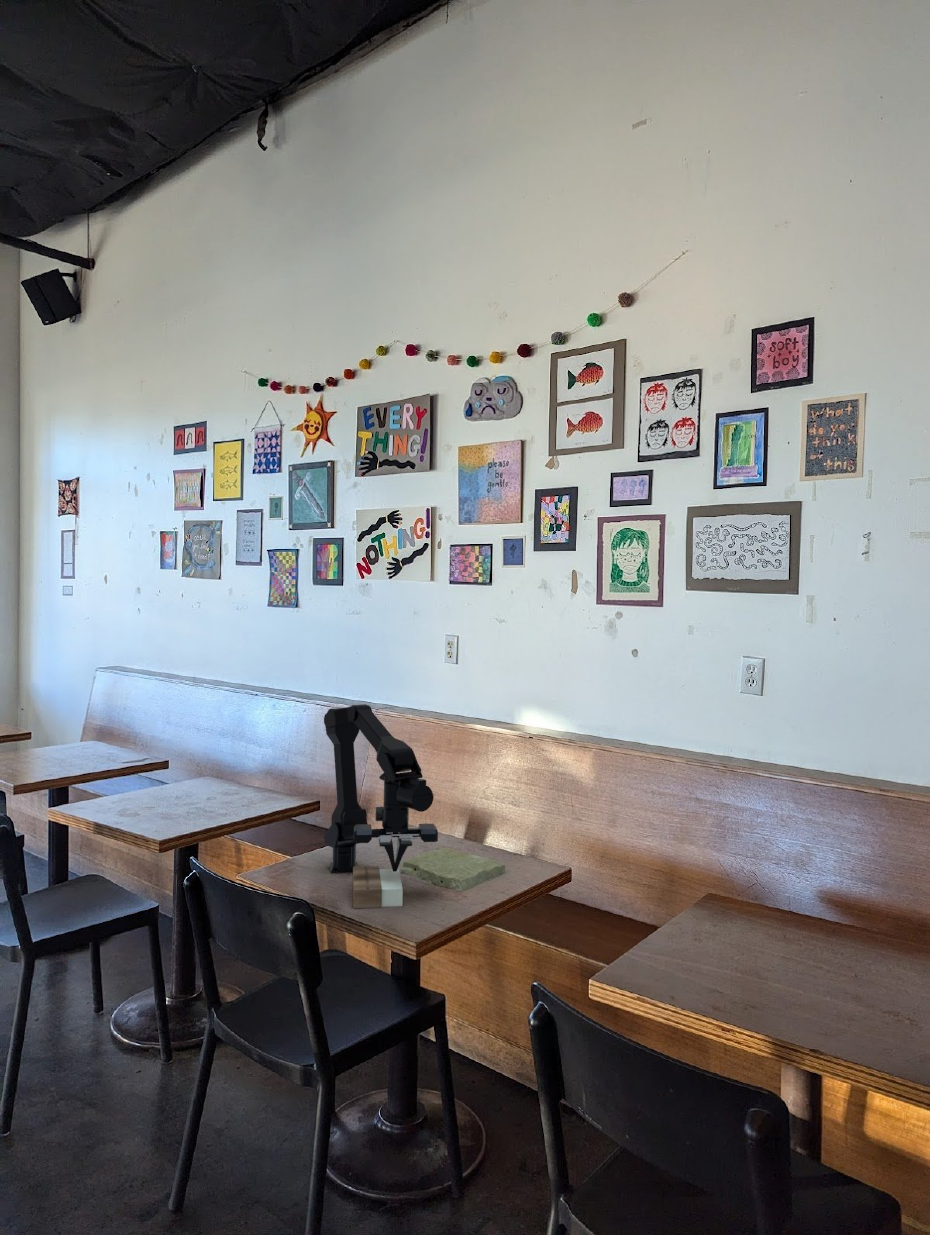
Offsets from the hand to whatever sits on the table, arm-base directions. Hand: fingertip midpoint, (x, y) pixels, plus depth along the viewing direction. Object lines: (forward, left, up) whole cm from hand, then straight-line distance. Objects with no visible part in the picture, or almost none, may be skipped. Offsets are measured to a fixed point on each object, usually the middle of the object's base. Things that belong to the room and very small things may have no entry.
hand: (394, 871), depth 193 cm
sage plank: (0, -1, -6) cm, 6 cm away
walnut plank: (0, -6, -5) cm, 8 cm away
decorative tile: (-14, +15, -6) cm, 21 cm away
